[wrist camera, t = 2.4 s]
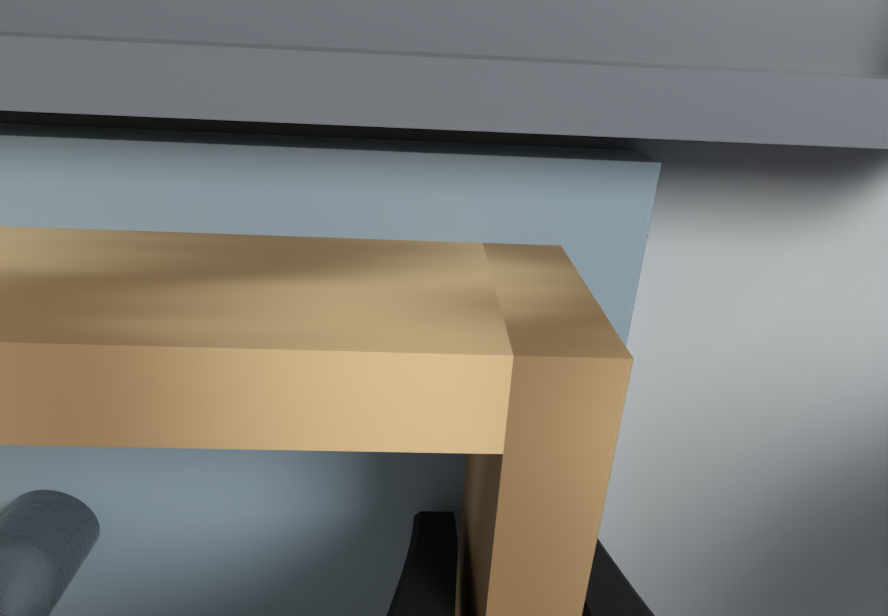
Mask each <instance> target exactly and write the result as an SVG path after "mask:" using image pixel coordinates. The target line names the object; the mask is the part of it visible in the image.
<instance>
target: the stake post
mask: <svg viewBox="0 0 888 616" xmlns="http://www.w3.org/2000/svg"><path fill="white" fill-rule="evenodd" d="M99 534H100V526H99V522H98V519H97V518H96V516H95V514H94V513H93V511H92V510H91V509H90V508H89V507H88V506H87V505H86V504H84V503H83V502H82V501H80V500H79V499H77V498H75V497H73V496H71V495H69V494H66V493H63V492H59V491H54V490H34V491H30V492H27V493H24V494H22V495H21V496H19V497H18V498H16V499H15V500H14V502H13V503H12V504H11V505H10V506H9V507H8V508H7V510H6V511H5V512H4V513H3V514H2V515H1V516H0V616H49V615H50V614H51V612H52V610H53V609H54V607H55V606H56V604H57V603H58V601H59V600H60V598H61V596H62V595H63V593H64V592H65V590H66V589H67V587H68V586H69V584H70V582H71V581H72V579H73V578H74V576H75V575H76V573H77V571H78V570H79V568H80V567H81V565H82V564H83V562H84V561H85V559H86V557H87V556H88V554H89V553H90V551H91V550H92V548H93V546H94V545H95V543H96V542H97V540H98V538H99Z"/></svg>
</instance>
